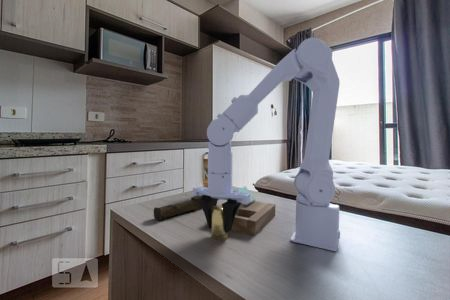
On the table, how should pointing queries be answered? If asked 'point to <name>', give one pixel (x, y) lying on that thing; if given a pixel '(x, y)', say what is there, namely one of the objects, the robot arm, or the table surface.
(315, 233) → the robot arm
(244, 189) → the teal flat square block
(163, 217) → the dark brown log
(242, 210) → the block
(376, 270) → the table surface
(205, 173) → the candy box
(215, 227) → the peg
